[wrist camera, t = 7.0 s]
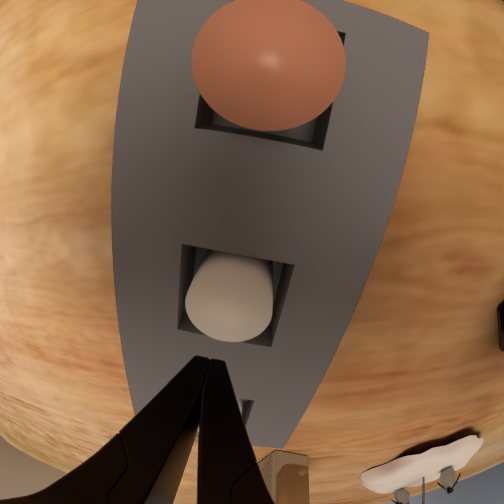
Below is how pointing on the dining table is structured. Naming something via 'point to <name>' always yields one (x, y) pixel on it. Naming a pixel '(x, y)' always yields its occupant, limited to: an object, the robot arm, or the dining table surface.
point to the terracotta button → (268, 63)
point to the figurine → (422, 469)
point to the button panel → (254, 205)
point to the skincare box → (286, 477)
